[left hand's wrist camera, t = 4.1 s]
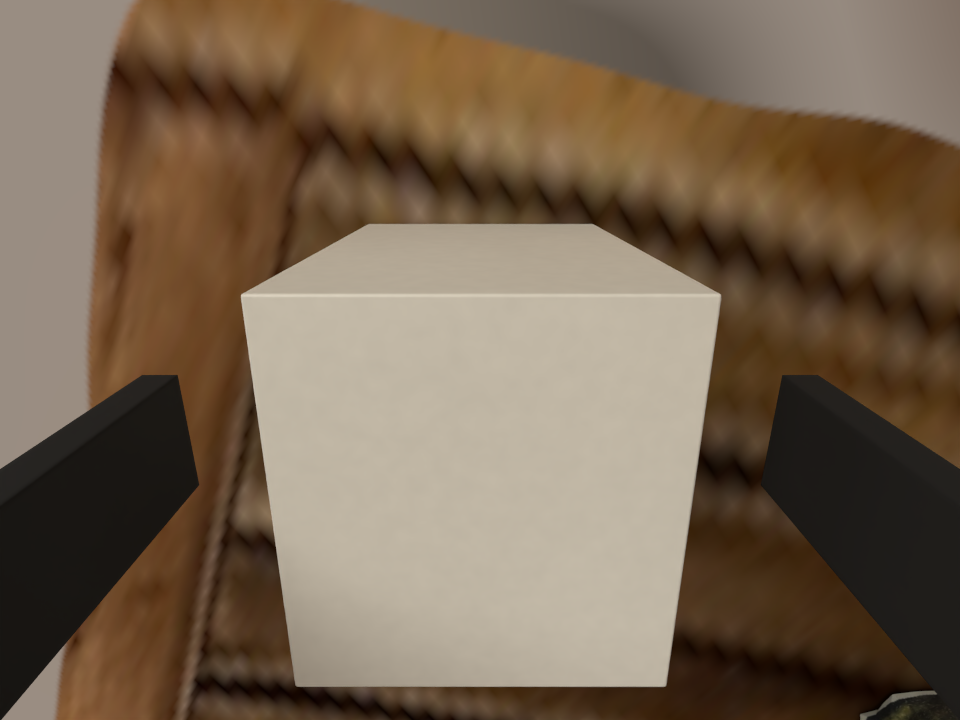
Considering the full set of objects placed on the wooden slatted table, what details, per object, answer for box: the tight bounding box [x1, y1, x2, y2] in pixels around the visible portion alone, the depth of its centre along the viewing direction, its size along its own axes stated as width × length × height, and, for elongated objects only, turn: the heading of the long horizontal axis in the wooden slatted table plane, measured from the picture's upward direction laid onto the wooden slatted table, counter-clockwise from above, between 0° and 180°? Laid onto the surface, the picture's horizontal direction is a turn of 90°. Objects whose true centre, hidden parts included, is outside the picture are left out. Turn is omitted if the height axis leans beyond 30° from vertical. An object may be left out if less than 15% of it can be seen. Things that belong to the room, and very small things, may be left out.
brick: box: [241, 224, 721, 687], centre depth 15 cm, size 8×8×11 cm
